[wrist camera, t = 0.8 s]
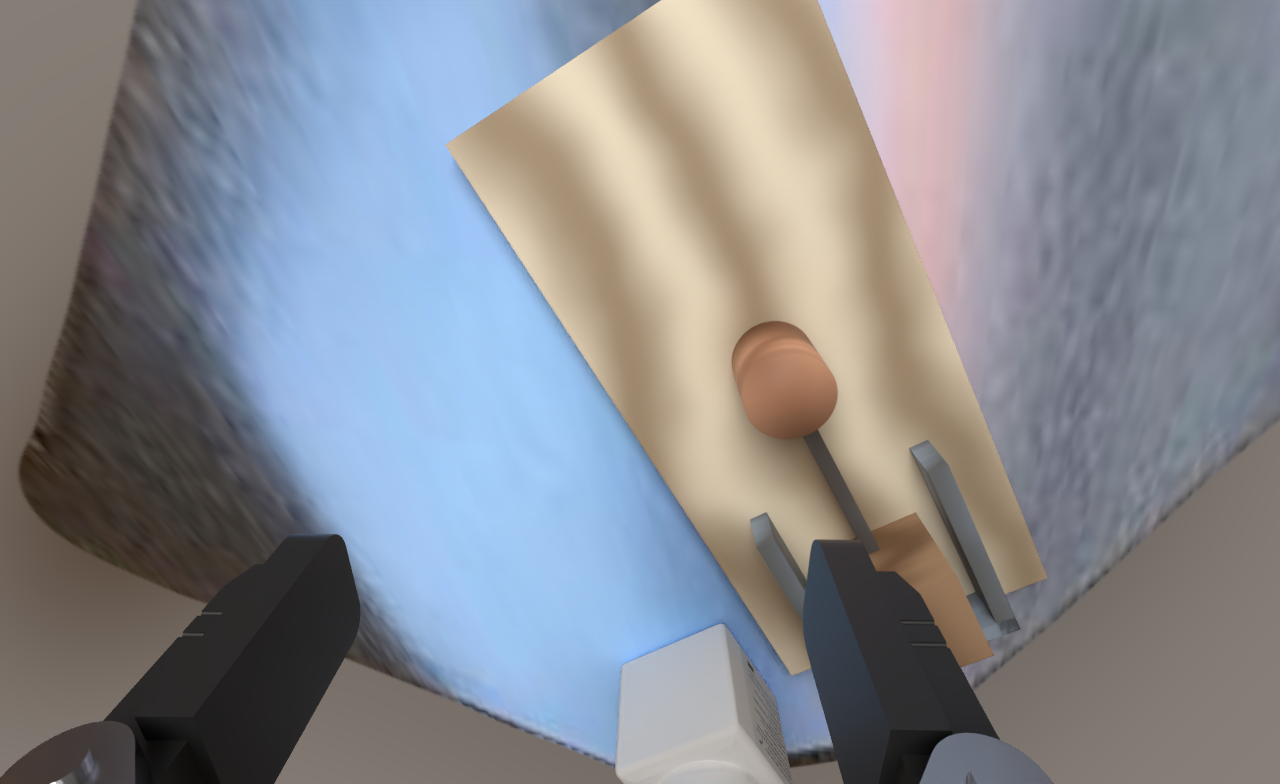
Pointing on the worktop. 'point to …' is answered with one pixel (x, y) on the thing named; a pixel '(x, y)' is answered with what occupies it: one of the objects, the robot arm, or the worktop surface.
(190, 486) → the worktop surface
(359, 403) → the worktop surface
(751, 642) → the worktop surface
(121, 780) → the robot arm
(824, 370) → the wooden joystick
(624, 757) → the container
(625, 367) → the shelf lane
